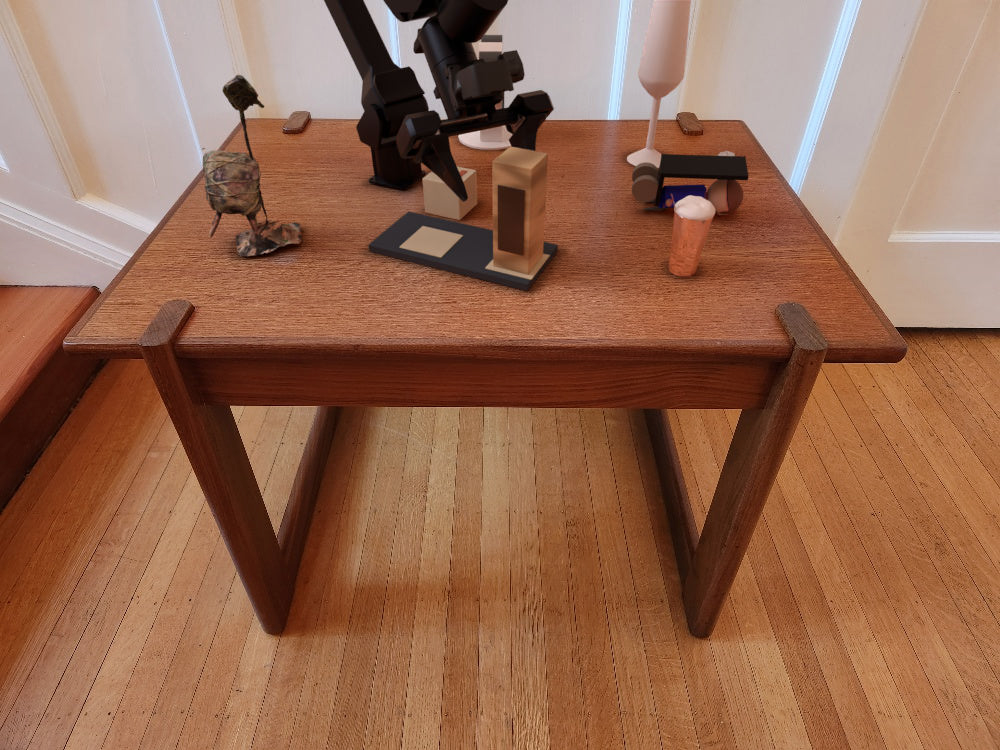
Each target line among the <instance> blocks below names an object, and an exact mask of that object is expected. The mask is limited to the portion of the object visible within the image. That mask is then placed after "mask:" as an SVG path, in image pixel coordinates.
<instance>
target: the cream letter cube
mask: <svg viewBox="0 0 1000 750" xmlns="http://www.w3.org/2000/svg"><path fill="white" fill-rule="evenodd" d="M457 168H458V170H459V173H460V175H461V178H462V180H463V182H464V185H465V188H466V192H467V195H468V199H467V200H466V201H464V202H463V201H462V200H461V199H460V198H459V197H458V196H457V195H456V194H455V193H454V192H453V191H452V190H451V189H450V188H449V187H448V186H447V185H446V184H445V183H444V182H443V181H442V180H441V179H440V178H439V177H438V176H437V175H436V174H434V173H433V172H432V171H430V172H428V174H425V175H424V176H423V177H422V178H421V179H422V190H423V203H424V213H425V214H429V215H435V216H439V217H444V218H449V219H453V220H458V221H461V220H462V219H463V218H464V217H465V216H466V215H467V214H468V213H469V212H470V211H471V210H472V209H473V208H474V207H476V206H477V205H478V180H477V179H478V176H477V174H478V173H477V170H476V169H471V168H467V167H463V166H462V167H461V166H457Z"/></svg>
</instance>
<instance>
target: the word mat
mask: <svg viewBox="0 0 1000 750" xmlns="http://www.w3.org/2000/svg"><path fill="white" fill-rule="evenodd" d="M367 246H368V251H369V252H370V253H374V254H379V255H381V256H386V257H390V258H394V259H399V260H402V261H406V262H410V263H414V264H417V265H422V266H426V267H429V268H433V269H438V270H442V271H446V272H450V273H454V274H458V275H461V276H466V277H469V278H474V279H478V280H482V281H486V282H490V283H494V284H497V285H501V286H505V287H510V288H514V289H518V290H522V291H526V292H528V291H529V290H530V289H531V287H532V286H533V285H534V284H535V282H536V281H537V280H538V278H539V277H540V275H542V273H543V272H544V271H545V269H546V268H547V266H548V265H549V264H550V263H551V261H552V260H553V258H554V257H555V256H556V255H557V254H558V252H559V244H556V243H552V242H547V241H544V244H543V257H542V258H541V260H540V261H539V262H538V263H537V264H536V266H535V267H534V268H533V269H532V271H531V272H530V273H529V274H528V275H527V274H523V273H519V272H515V271H511V270H507V269H503V268H499V267H495V266H493V229H490V228H485V227H481V226H476V225H471V224H467V223H462V222H458V221H453V220H449V219H444V218H440V217H435V216H431V215H426V214H421V213H417V212H413V211H407V212H406V213H405V214H404V215H402V216H401V217H400V218H398V220H396V221H395V222H394V223H393V224H391V225H390V226H389V227H388V228H387V229H385V230H384V231H383V232H382V233H380V235H378V236H377V237H376V238H374V239H373V240H372V241H371V242H370V243H368V244H367Z"/></svg>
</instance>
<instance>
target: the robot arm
mask: <svg viewBox="0 0 1000 750" xmlns="http://www.w3.org/2000/svg"><path fill="white" fill-rule="evenodd" d="M382 1H383V3H384V4H385V5H386V6H387V8H388V9H389V11H390V12H391V14H392V15H393V16H394V17H395V19H396V20H398V21H399V22H401V23H409V22H414V21H418V20H419V21H420V20H423V19H426V20H425V21H424V23H423V25H422V26H421V27H420V28H417V34H416V38H415V40H414V42H413V48H412V49H413V51H412V52H413V53H414V54H416V55H418V54H419V55H420V54H423V55H424V57H425V60H426V63H427V66H428V69H429V71H430V73H431V76H432V80H433V82H434V85H435V87H434V89H433V91H432V92H433V94H434V98H435V100H440V101H441V104H442V106H443V110H444V112H445V114H446V117H447V118H446V119H441V116H440V114H439V112H437V111H436V110H435V109H432V110H430V108H429V104H428V99H426V96H425V94H426V92H425V90H424V89H423V88H422V86H421V85H420V83H419V80H418V78H417V76H416V72H415V70H414V69H412V67H411V66H410V65H409V66H404V67H400V66H399V65H397V64H396V63H395V62H394V61H393V58H392V57H391V54H390V52H389V50H388V48H387V46H386V44H385V42H384V39H383V38H382V36H381V34H380V32H379V29H378V27H377V25H376V23H375V21H374V19H373V17H372V15H371V13H370V10H369V8H368V6H367V5H366V2H365V0H323V2H324V4H325V6H326V8H327V10H328V12H329V14H330V16H331V18H332V20H333V22H334V24H335V26H336V28H337V30H338V33H339V34H340V37H341V39H342V41H343V43H344V45H345V46H346V50H347V51H348V53H349V55H350V58H351V60H352V61H353V63H354V65H355V68H356V70H357V72H358V74H359V77H360V78H361V81H362V85H361V97H360V100H361V101H360V104H361V107H362V109H363V113H362V115H361V117H360V118H359V121H358V122H357V124H356V126H355V129H356V132H357V135H358V138H359V142H360V143H362V144H364V145H365V146H368V147H370V152H371V153H370V154H371V162H372V168H373V169H372V170H373V175H371V177H370V178H368V183H369V184H372V185H377V186H381V187H386V188H391V189H395V190H400V191H406V190H408V189H409V188H410V187H411V186H413V185H414V184H415V183H417V182H418V181H419V180H420V179H422V178H424V177H425V176H426V171H425V170H423V169H422V165H424V166H425V167H426V168H427V169H428V170H430V172H433V173H434V174H436V175H437V176H438V177H439V178H440V179H441V180H442V181H443V182H444V183H445V184H446V185H447V186H448V187H449V188H450V189H451V190H452V191H453V192H454V193H455V194H456V195H457V196H458V197H459V198H460V199H461V200H462V201H463V202H464V201H466V200H467V199H468V195H467V192H466V188H465V185H464V182H463V180H462V178H461V175H460V173H459V170H458V168H457V167H458V166H457V164H456V161H455V159H454V155H453V154H452V151H451V144H450V138H451V137H455V136H458V135H461V134H466V133H471V132H476V131H481V130H485V129H490V128H495V127H500V126H506V129H507V131H508V132H510V133H511V134H513V135H512V136H511V137H510V139H509V142H510V144H511V146H512V147H516V148H521V149H527V150H532V151H537V150H536V147H537V136H538V130H539V129H540V127H541V126H542V125H543V124H544V123H545V122H546V120H547V118H548V117H549V116H550V115H551V113H552V112H554V110H555V107H554V105H553V102H552V99H551V96H550V95H549V93H548V92H546V91H544V90H542V89H539V90H538V89H537V90H533V91H527V92H523V93H517V94H516V95H515V97H514V98H513V99H512V101H511V103H510V104H509V106H508V107H504V108H502V109H497V110H496V108H495V105H496V104H498V103H500V102H501V101H502V99H503V96H502V92H504V93H505V92H513V91H514V90H515V87H514V84H517V83H519V82H521V81H523V80H524V79H525V75H526V74H525V68H524V62H523V61H522V59H521V56H520V54H519V52H518V50H517V49H515V50H508V51H503V52H502V54H500V55H498V57H497V61H491V62H485V61H484V59H478V57H477V53H476V51H475V48H474V45H473V44H474V43H478V42H480V41H481V39H482V37H483V36H484V35H487V32H488V31H489V29H490V28H491V27H492V25H493V24H494V22H495V21H496V20H497V19H498V17H499V16H500V15H501V13H502V11H503V10H504V9H505V7H506V6H507V5H508V2H509V0H382Z"/></svg>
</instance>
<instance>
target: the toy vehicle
mask: <svg viewBox="0 0 1000 750" xmlns="http://www.w3.org/2000/svg"><path fill="white" fill-rule="evenodd" d="M631 173H632V175H631V180H632V186H631V195H632V197H633V198H634V199H635V200H636V201H639V202H641V203H646V204H647V203H649V204H650V203H651V204H653V203H654V207H652V206H651V207H644V208H643V209H642V210H643V211H645V212H663V211H666V210H667V209H674V204H673V200H674V203H675V204H676V203H677V202H678V201H680V200H681V199H683V198H685V197H687V196H690V195H692V196H700V197H703V198H704V199H706V200H708V201H710V202H711V203H712V205H713V206H714V208H715V214H716V215H719V216H727V215H730V214H733V213H734V212H736V211H737V210H738V209H739V208H740V207H741V206H742V203H743V201H744V189H743V186H742V185H741V183H740V182H739V181H748V180H749V177H750V176H749V169H748V164H747V158H746V156H743V155H738V156H737V155H735V156H717V155H713V154H712V155H708V154H675V153H674V154H673V153H671V154H670V153H661V161H660V166H659V168H657V167H656V166H655V165H654V164H652V163H647V162H645V163H640V164H638V165H637V166H635V167H634V168H633V170H632V172H631ZM665 178H667V179H694V180H714V181H713V182H712V183H711V184H710V185H709V187H708V188H707V187H706V184H667V185H664V183H665ZM671 194H672V196H673V200H672V196H671Z"/></svg>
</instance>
